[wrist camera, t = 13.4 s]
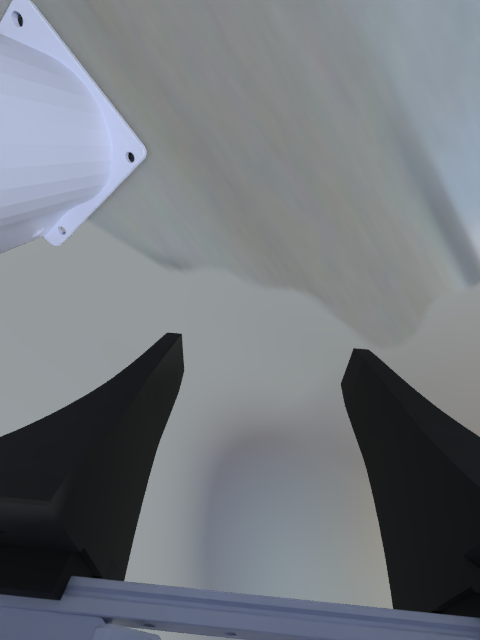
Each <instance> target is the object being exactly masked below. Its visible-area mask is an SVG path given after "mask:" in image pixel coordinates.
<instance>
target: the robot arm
mask: <svg viewBox="0 0 480 640" xmlns="http://www.w3.org/2000/svg"><path fill="white" fill-rule="evenodd" d="M20 14H21V16H22V18H23V26H21V27H20V25H19V23H18V16H19V15H20ZM130 152H131V153H132V154H133V155H134V157H135V160H134V162H131V161H130V160H129V158H128V155H129V153H130ZM146 154H147V151H146V148H145V146H144V144H143V143H142V142H141V141H140V139H139V138H138V137H137V135H136V134H135V133H134V132H133V130H132V129H131V128H130V126H129V125H128V124H127V123H126V121H125V120H124V119H123V117H122V116H121V115H120V114H119V112H118V111H117V110H116V108H115V107H114V106H113V105H112V103H111V102H110V101H109V99H108V98H107V97H106V96H105V94H104V93H103V92H102V90H101V89H100V88H99V87H98V85H97V84H96V83H95V81H94V80H93V79H92V78H91V76H90V75H89V74H88V73H87V71H86V70H85V69H84V67H83V66H82V65H81V64H80V62H79V61H78V60H77V58H76V57H75V56H74V55H73V53H72V52H71V51H70V49H69V48H68V47H67V46H66V44H65V43H64V42H63V40H62V39H61V38H60V37H59V35H58V34H57V33H56V31H55V30H54V29H53V28H52V26H51V25H50V24H49V22H48V21H47V20H46V19H45V17H44V16H43V15H42V13H41V12H40V11H39V10H38V8H37V7H36V6H35V4H34V3H33V2H32V1H31V0H12V1H11V3H10V5H9V7H8V9H7V10H6V12H5V14H4V16H3V18H2V20H1V22H0V253H3V252H5V251H7V250H10V249H13V248H15V247H18V246H20V245H23V244H25V243H27V242H30V241H32V240H35V239H37V238H40V237H43V238H45V239H46V240H47V241H48V242H49V243H50V244H51V245H53V246H60V245H62V244H63V243H64V242H65V241H66V240H67V239H68V238H69V237H70V236H71V235H72V234H73V233H74V232H75V231H76V230H77V229H78V228H79V227H80V226H81V225H82V224H83V223H84V222H85V221H86V220H87V219H88V217H89V216H90V215H91V214H92V213H93V212H94V211H95V210H96V209H97V208H98V207H99V206H100V205H101V204H102V203H103V202H104V201H105V200H106V199H107V198H108V197H109V196H110V195H111V194H112V193H113V191H114V190H115V189H116V188H117V187H118V186H119V185H120V184H121V183H122V182H123V181H124V180H125V179H126V178H127V177H128V176H129V175H130V174H131V173H132V172H133V171H134V170H135V169H136V168H137V167H138V165H139V164H140V163H141V162H142V161H143V160H144V159H145V158H146ZM61 227H63V228H64V229H65V230H66V233H65V232H63V231H62V229H61ZM183 373H184V361H183V347H182V334H177V333H166V334H165V335H164V336H163V337H162V338H161V339H159V340H158V341H157V342H156V343H155V344H154V345H153V346H152V347H150V348H149V349H148V350H147V351H146V352H145V353H144V354H142V355H141V356H140V357H139V358H138V359H136V360H135V361H134V362H133V363H132V364H130V365H129V366H128V367H126V368H125V369H124V370H122V371H121V372H120V373H119V374H117V375H116V376H115V377H114V378H112V379H111V380H109V381H107V382H106V383H105V384H103V385H102V386H100V387H98V388H97V389H95V390H94V391H92V392H90V393H89V394H87V395H85V396H84V397H82V398H80V399H78V400H76V401H75V402H73V403H71V404H69V405H67V406H66V407H64V408H62V409H60V410H58V411H57V412H54V413H52V414H51V415H49V416H46V417H44V418H43V419H40V420H38V421H36V422H34V423H32V424H30V425H27V426H25V427H23V428H21V429H18V430H16V431H14V432H12V433H9V434H6V435H4V436H2V437H0V640H161V639H160V637H159V636H158V635H155V634H151V633H147V632H143V631H139V630H135V629H130V628H127V627H132V628H142V629H150V630H160V631H169V632H178V633H188V634H197V635H206V636H216V637H225V638H235V639H244V640H480V437H479V436H477V435H476V434H474V433H473V432H471V431H470V430H468V429H467V428H465V427H464V426H463V425H461V424H460V423H458V422H457V421H455V420H454V419H452V418H451V417H450V416H448V415H447V414H445V413H444V412H443V411H441V410H440V409H439V408H437V407H436V406H435V405H433V404H432V403H431V402H430V401H428V400H427V399H426V398H425V397H423V396H422V395H421V394H420V393H418V392H417V391H416V390H415V389H414V388H412V387H411V386H410V385H409V384H408V383H406V382H405V381H404V380H403V379H402V378H401V377H400V376H398V375H397V374H396V373H395V372H394V371H393V370H392V369H390V368H389V367H388V366H387V365H386V364H385V363H384V362H383V361H381V360H380V359H379V358H378V357H377V356H375V355H374V354H373V353H372V352H371V351H370V350H366V349H355V348H354V349H353V352H352V355H351V358H350V360H349V363H348V366H347V368H346V371H345V374H344V377H343V379H342V382H341V387H342V393H343V398H344V402H345V407H346V409H347V413H348V416H349V419H350V421H351V425H352V427H353V430H354V433H355V436H356V439H357V442H358V445H359V447H360V450H361V453H362V456H363V459H364V462H365V465H366V468H367V473H368V477H369V481H370V485H371V489H372V494H373V498H374V503H375V507H376V512H377V517H378V521H379V526H380V531H381V537H382V542H383V547H384V552H385V558H386V564H387V571H388V577H389V583H390V589H391V596H392V603H393V609H387V608H377V607H368V606H367V607H366V606H358V605H348V604H338V603H328V602H318V601H309V600H299V599H290V598H280V597H271V596H261V595H251V594H241V593H232V592H222V591H213V590H203V589H193V588H184V587H174V586H164V585H154V584H145V583H135V582H125V581H124V579H125V574H126V570H127V565H128V561H129V556H130V552H131V548H132V543H133V538H134V535H135V530H136V526H137V522H138V518H139V514H140V510H141V506H142V502H143V498H144V495H145V491H146V487H147V483H148V479H149V476H150V472H151V468H152V465H153V461H154V457H155V454H156V451H157V447H158V444H159V442H160V439H161V436H162V434H163V431H164V429H165V426H166V423H167V421H168V418H169V416H170V413H171V411H172V408H173V405H174V403H175V400H176V398H177V395H178V392H179V389H180V385H181V381H182V377H183Z"/></svg>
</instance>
